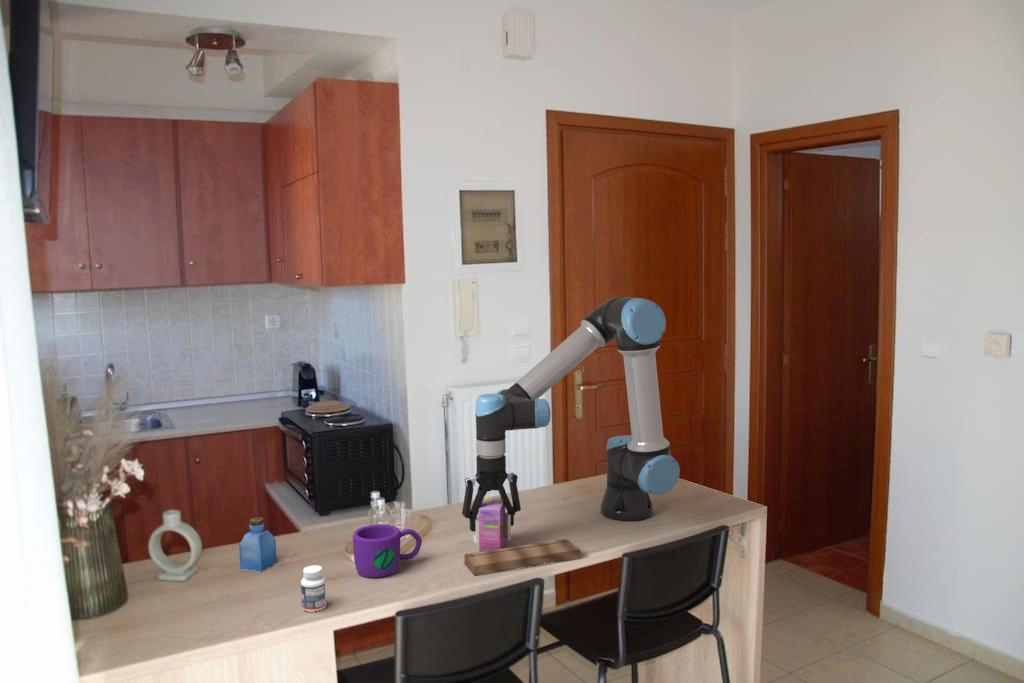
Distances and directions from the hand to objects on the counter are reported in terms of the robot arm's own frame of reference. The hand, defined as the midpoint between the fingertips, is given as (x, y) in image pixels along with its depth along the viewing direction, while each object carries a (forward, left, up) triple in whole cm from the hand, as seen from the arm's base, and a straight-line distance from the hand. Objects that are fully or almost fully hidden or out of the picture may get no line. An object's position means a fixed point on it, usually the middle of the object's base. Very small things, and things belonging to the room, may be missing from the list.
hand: (492, 540), depth 207 cm
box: (0, -1, -2) cm, 2 cm away
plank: (-5, +9, -3) cm, 11 cm away
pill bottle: (+47, +16, -3) cm, 50 cm away
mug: (+27, +1, -3) cm, 28 cm away
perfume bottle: (+57, -13, -3) cm, 59 cm away
